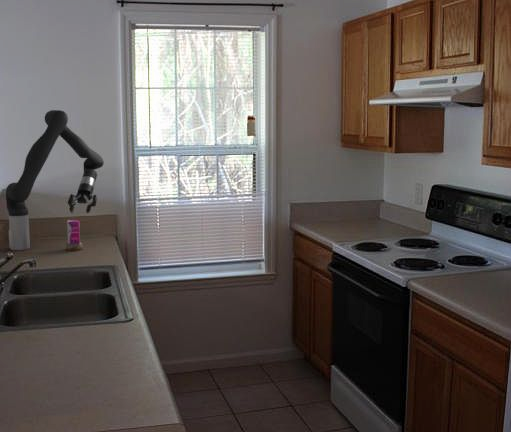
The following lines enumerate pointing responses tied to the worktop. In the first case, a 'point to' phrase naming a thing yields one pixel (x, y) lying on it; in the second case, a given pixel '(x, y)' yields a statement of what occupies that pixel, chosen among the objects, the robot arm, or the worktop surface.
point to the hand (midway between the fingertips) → (79, 211)
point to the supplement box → (73, 232)
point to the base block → (74, 247)
